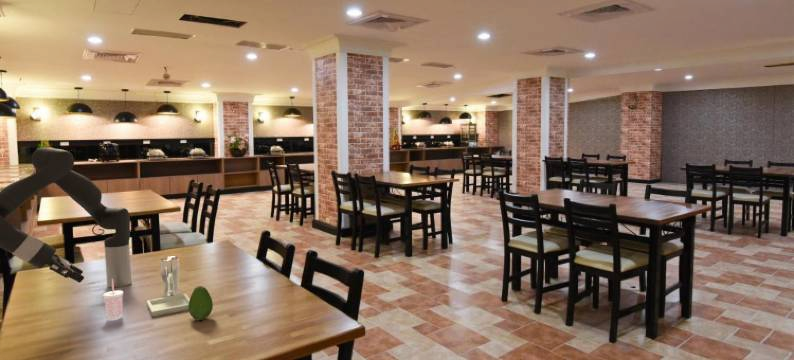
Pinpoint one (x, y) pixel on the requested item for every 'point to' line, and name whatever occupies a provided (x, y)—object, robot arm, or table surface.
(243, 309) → the table surface
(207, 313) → the avocado
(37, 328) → the table surface
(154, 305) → the tray
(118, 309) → the beverage cup
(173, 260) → the metal tumbler
